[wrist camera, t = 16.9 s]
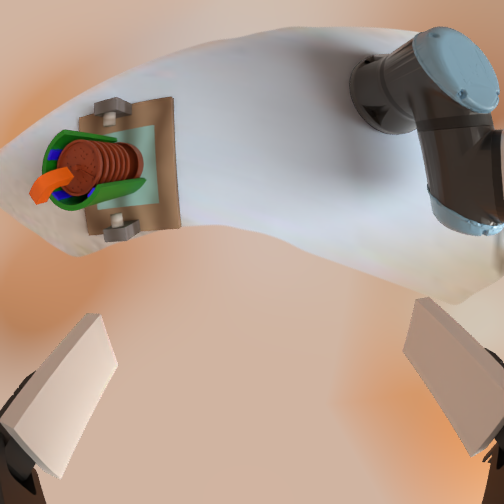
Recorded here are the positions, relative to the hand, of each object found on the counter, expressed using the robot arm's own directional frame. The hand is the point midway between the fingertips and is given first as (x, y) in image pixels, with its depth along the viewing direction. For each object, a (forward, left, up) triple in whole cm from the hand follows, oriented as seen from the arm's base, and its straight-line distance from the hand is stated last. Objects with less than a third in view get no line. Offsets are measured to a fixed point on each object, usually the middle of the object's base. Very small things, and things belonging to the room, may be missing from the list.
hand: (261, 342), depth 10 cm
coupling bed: (+21, -8, -37) cm, 43 cm away
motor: (+21, -8, -35) cm, 42 cm away
